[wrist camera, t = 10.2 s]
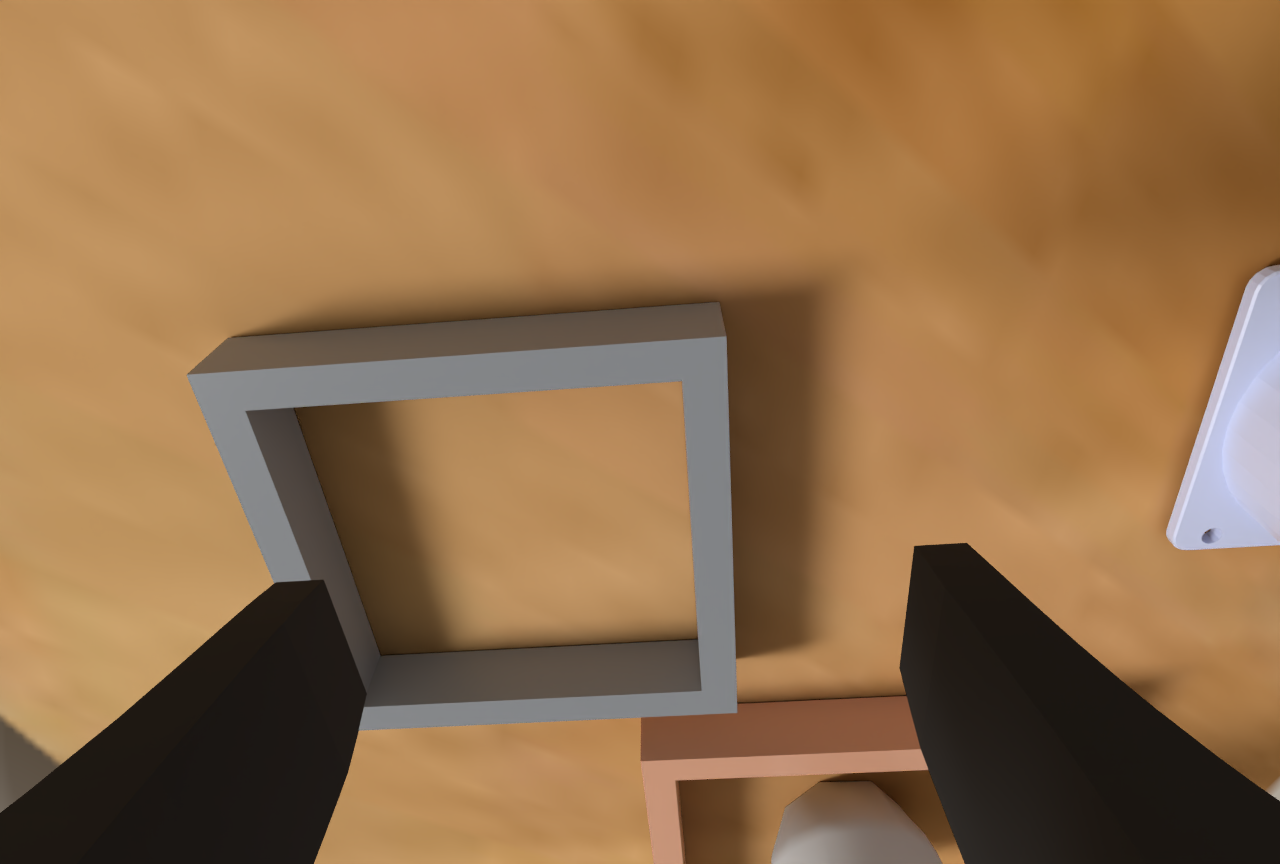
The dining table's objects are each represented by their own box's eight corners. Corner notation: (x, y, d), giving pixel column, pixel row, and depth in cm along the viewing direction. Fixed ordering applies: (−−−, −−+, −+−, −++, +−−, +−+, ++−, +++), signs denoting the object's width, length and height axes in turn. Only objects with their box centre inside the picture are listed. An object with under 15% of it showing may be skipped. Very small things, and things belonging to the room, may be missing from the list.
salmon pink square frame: (1077, 687, 25) (1108, 741, 23) (1009, 923, 32) (1029, 977, 31) (641, 708, 26) (640, 761, 24) (668, 934, 33) (669, 987, 31)
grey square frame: (719, 301, 19) (726, 336, 17) (731, 660, 25) (737, 713, 23) (227, 337, 19) (186, 374, 18) (357, 679, 25) (336, 731, 24)
